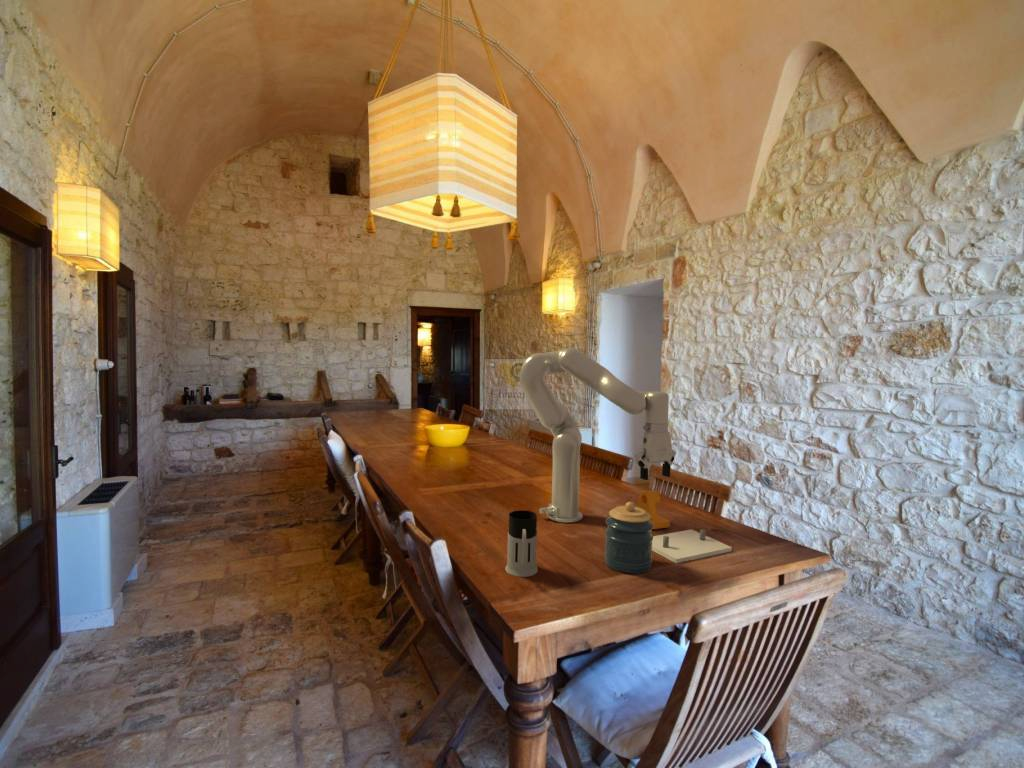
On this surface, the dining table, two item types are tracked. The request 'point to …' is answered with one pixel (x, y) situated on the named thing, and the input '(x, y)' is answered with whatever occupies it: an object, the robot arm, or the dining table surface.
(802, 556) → the dining table surface
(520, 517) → the glass holder
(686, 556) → the locating board
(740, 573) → the dining table surface
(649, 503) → the bracket
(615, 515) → the canister
